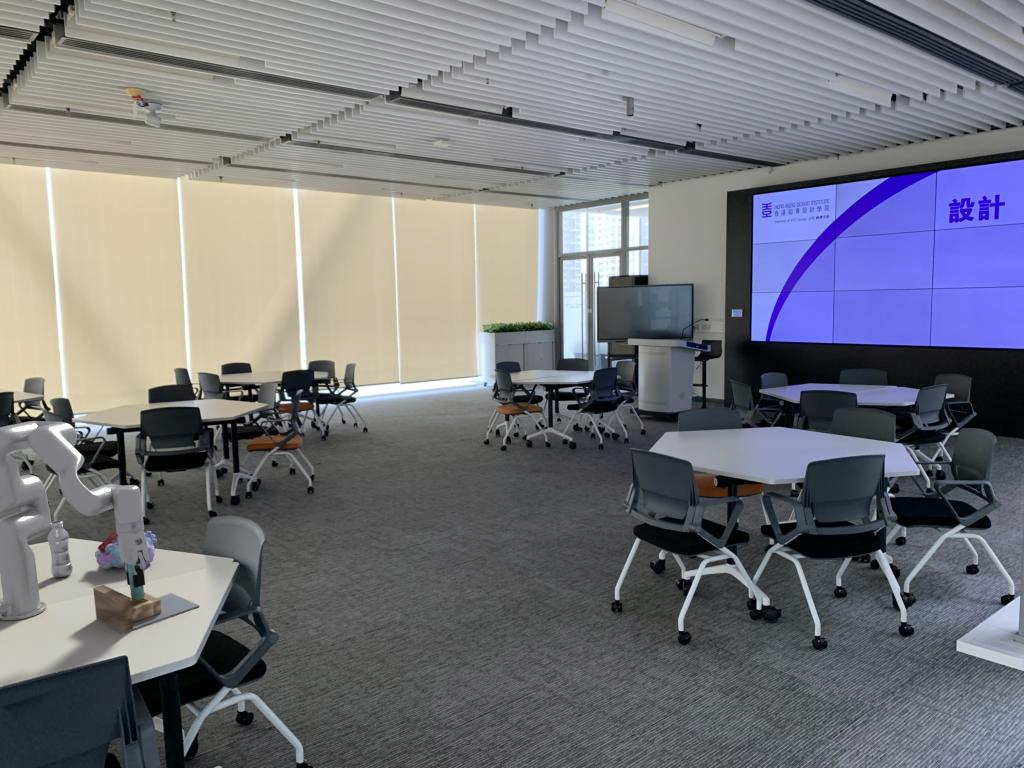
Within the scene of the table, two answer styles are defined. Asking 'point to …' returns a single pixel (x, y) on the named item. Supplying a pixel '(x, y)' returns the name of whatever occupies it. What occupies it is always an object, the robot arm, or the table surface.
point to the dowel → (135, 592)
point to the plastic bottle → (59, 550)
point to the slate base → (164, 611)
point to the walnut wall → (113, 608)
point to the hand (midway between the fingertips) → (136, 584)
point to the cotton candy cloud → (110, 551)
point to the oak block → (145, 607)
